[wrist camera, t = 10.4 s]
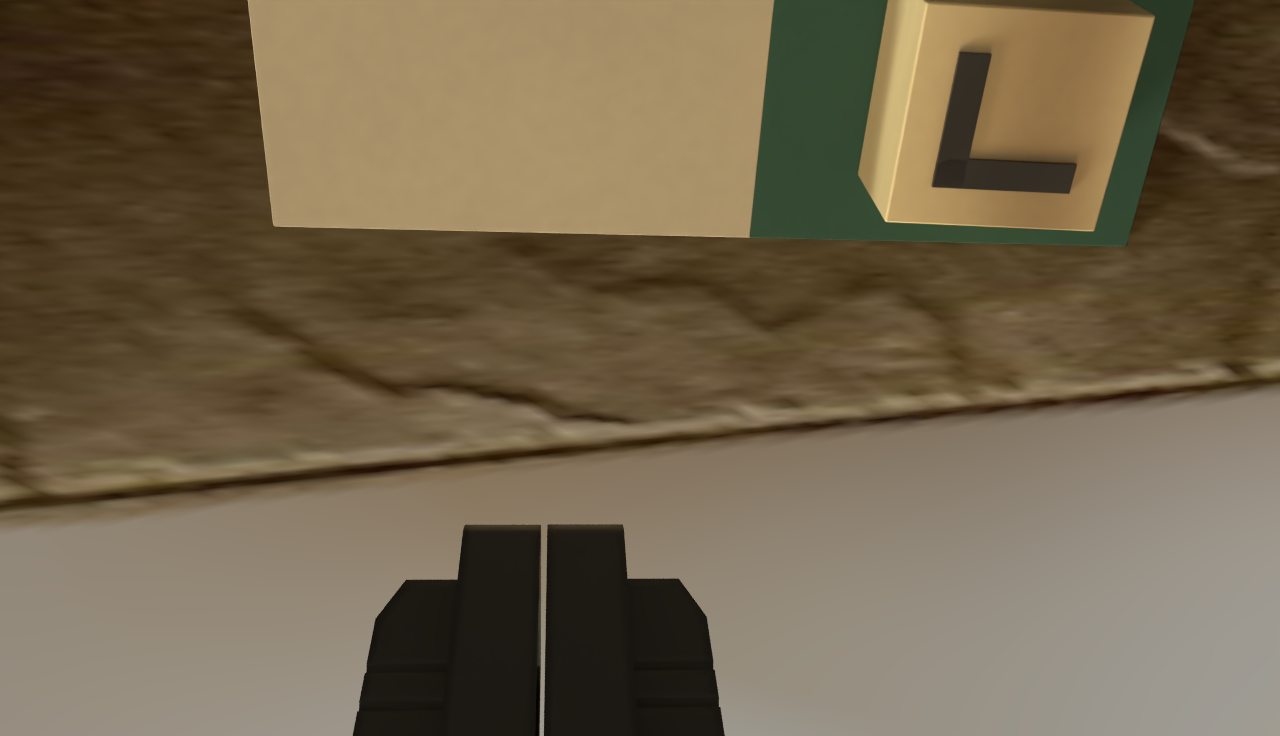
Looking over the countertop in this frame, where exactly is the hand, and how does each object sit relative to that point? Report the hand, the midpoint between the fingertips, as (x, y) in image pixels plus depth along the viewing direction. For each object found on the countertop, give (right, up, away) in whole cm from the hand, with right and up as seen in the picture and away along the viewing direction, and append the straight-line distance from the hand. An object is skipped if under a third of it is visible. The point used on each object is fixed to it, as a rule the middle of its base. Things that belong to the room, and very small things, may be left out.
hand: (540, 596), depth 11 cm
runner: (+3, +10, +17) cm, 20 cm away
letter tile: (+9, +9, +17) cm, 22 cm away
